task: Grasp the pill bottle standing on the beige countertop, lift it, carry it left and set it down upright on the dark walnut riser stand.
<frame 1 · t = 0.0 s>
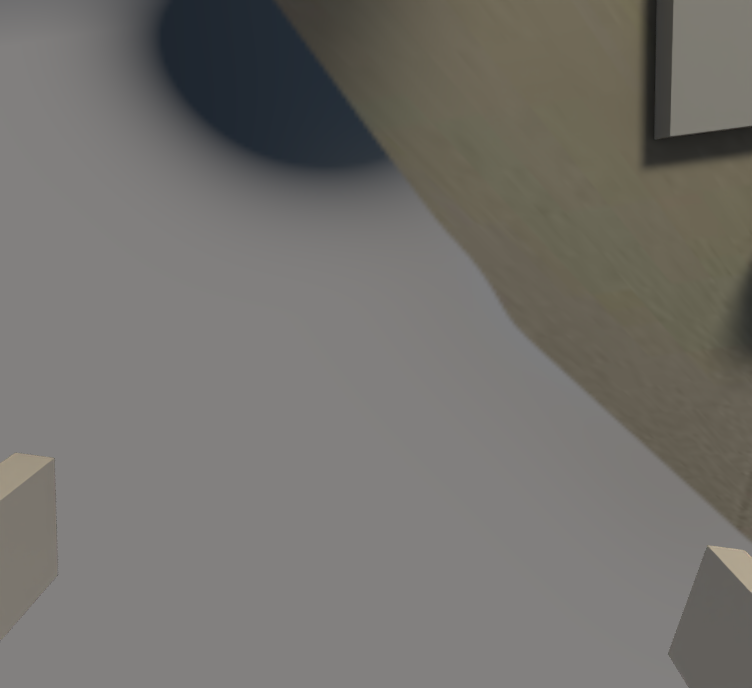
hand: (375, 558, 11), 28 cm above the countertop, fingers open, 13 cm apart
slate tile: (737, 44, 33), on the countertop
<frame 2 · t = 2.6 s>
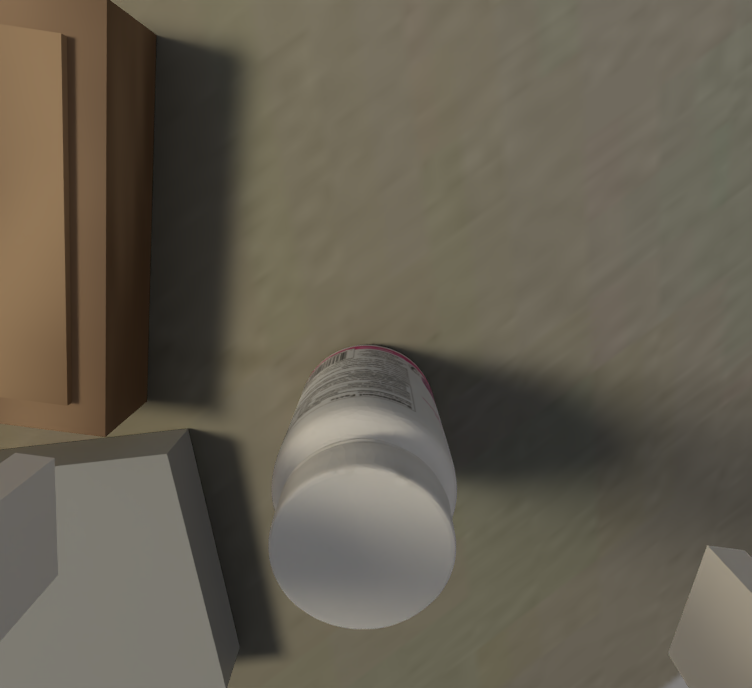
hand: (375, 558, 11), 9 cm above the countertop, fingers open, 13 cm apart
pill bottle: (368, 402, 19), on the countertop
slate tile: (92, 557, 21), on the countertop
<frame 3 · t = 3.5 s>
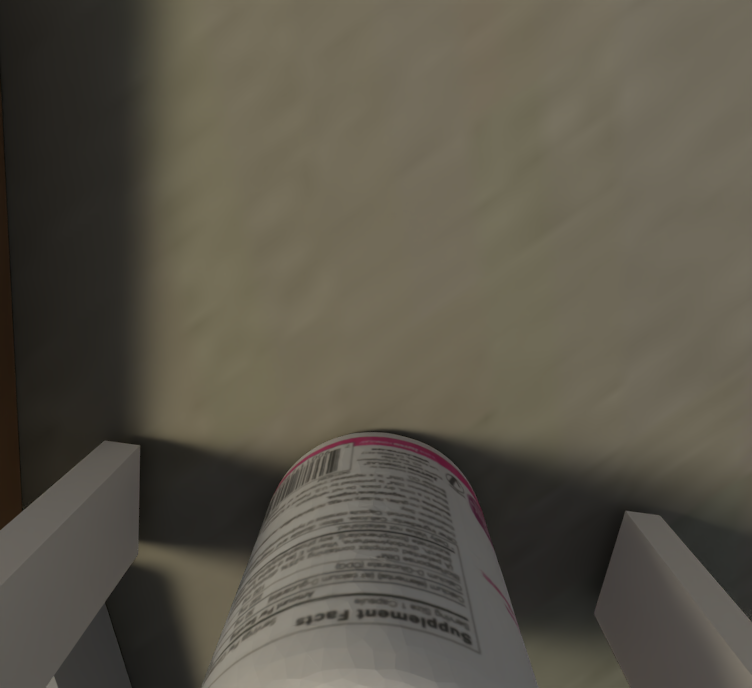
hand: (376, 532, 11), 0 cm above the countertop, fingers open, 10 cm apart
pill bottle: (376, 516, 12), on the countertop
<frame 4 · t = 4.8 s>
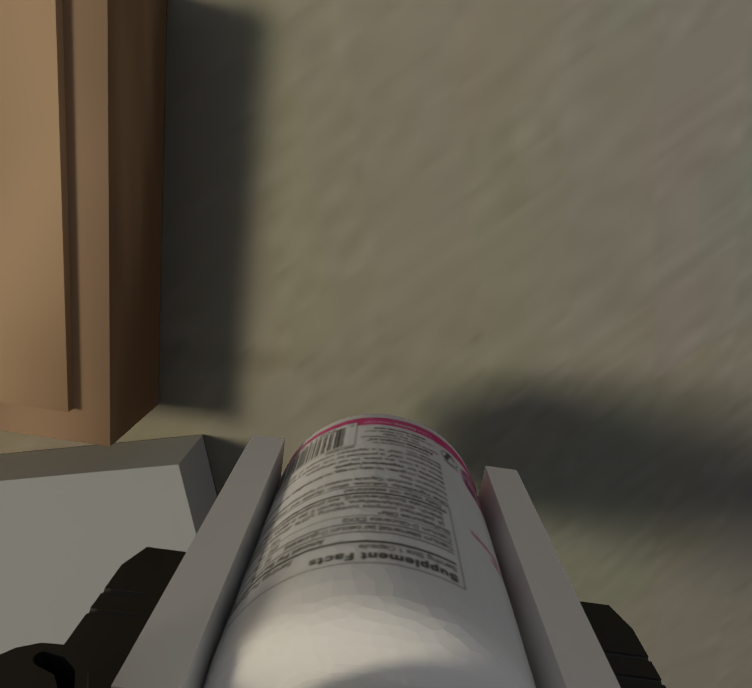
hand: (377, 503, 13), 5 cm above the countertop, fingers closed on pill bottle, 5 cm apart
pill bottle: (378, 492, 13), point 4 cm above the countertop, touching gripper
slate tile: (100, 569, 19), on the countertop
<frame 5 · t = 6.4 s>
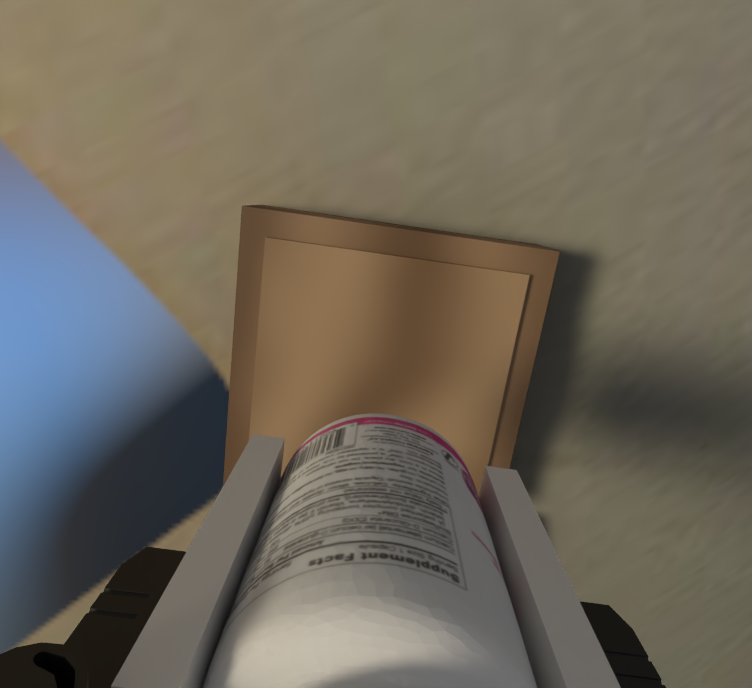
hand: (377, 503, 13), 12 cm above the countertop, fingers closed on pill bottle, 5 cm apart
pill bottle: (378, 492, 13), point 11 cm above the countertop, touching gripper
walnut stand: (380, 357, 24), on the countertop
when the fingers open (4 cm above the countertop, at t = 8.0 s): pill bottle stays where it is, resting on walnut stand.
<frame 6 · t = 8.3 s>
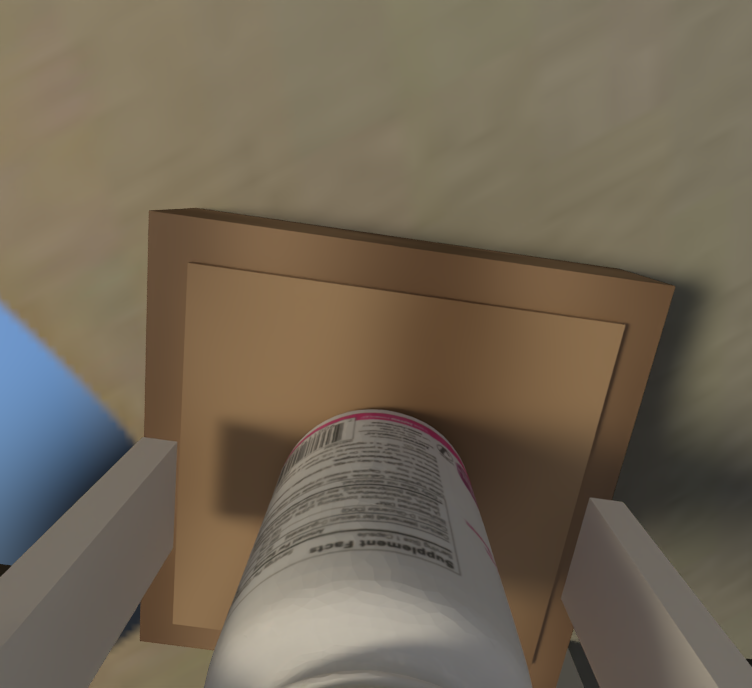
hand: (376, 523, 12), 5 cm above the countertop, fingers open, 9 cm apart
pill bottle: (375, 486, 13), point 3 cm above the countertop, touching walnut stand
walnut stand: (379, 432, 16), on the countertop
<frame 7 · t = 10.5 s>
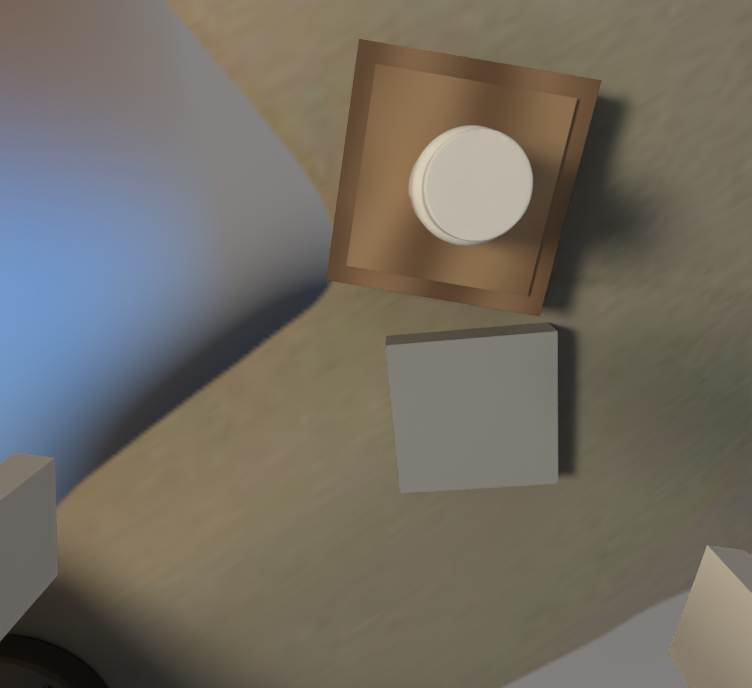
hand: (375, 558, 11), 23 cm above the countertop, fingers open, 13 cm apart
pill bottle: (454, 187, 27), point 3 cm above the countertop, touching walnut stand
slate tile: (470, 403, 34), on the countertop
walnut stand: (450, 186, 30), on the countertop
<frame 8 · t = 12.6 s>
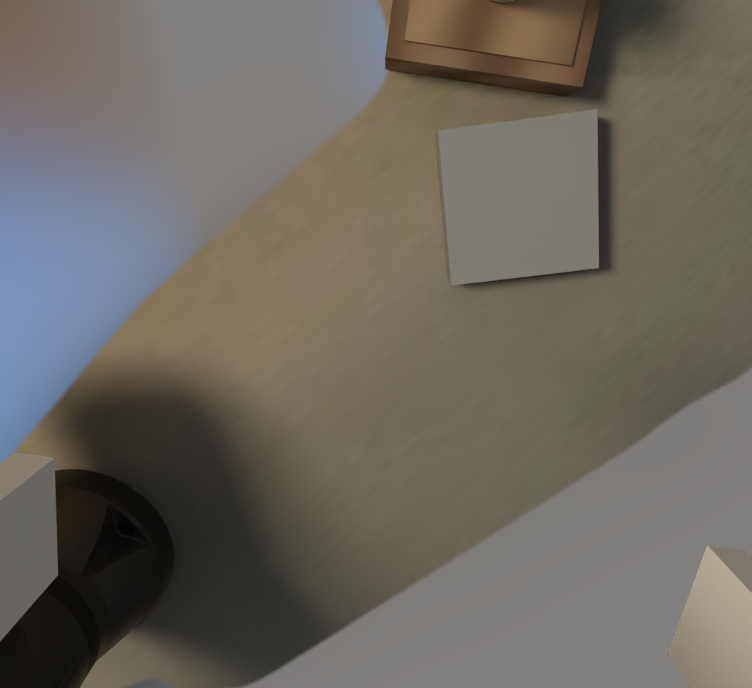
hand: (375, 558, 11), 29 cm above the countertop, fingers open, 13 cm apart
slate tile: (513, 201, 36), on the countertop
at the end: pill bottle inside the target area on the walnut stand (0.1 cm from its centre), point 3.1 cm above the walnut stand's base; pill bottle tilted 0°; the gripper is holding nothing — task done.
